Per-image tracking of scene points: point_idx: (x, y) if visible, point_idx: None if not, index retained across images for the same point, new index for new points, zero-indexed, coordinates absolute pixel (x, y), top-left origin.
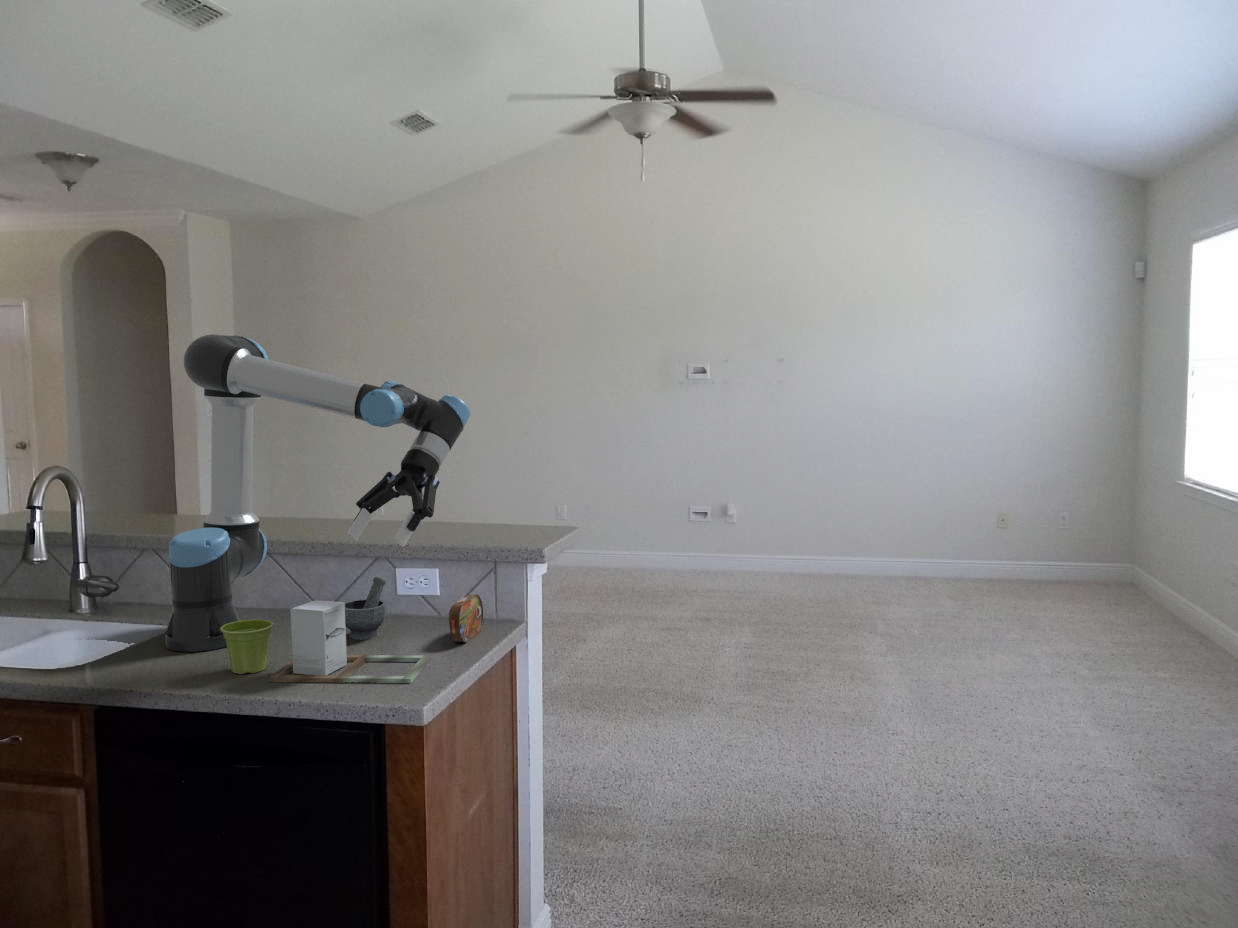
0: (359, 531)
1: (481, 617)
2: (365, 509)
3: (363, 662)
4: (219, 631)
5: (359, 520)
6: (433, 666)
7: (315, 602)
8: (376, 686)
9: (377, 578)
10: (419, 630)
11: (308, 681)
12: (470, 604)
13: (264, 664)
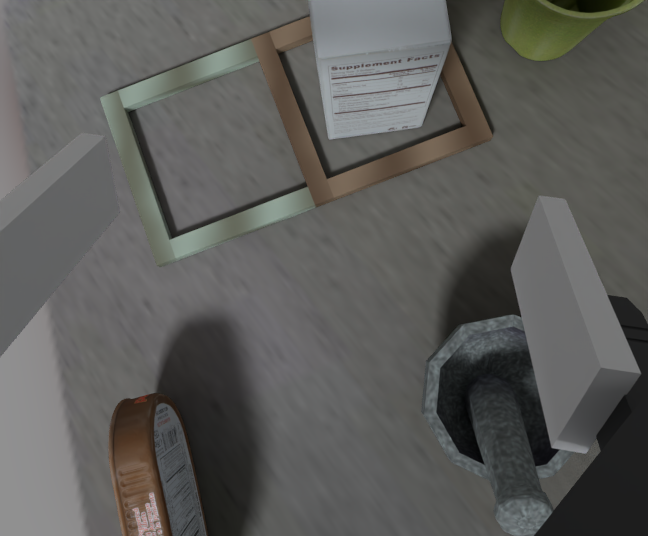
0: (529, 292)
1: None
2: (593, 371)
3: (301, 170)
4: None
5: (561, 292)
6: (123, 223)
7: (412, 10)
8: (164, 54)
9: (522, 494)
10: (359, 497)
11: None
12: None
13: (504, 30)
